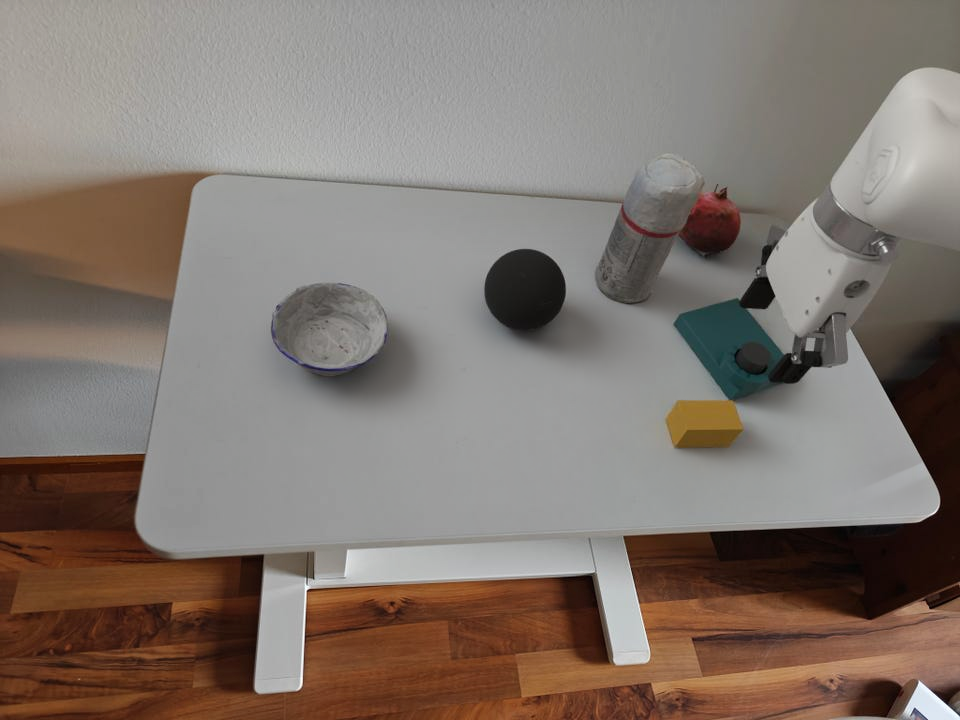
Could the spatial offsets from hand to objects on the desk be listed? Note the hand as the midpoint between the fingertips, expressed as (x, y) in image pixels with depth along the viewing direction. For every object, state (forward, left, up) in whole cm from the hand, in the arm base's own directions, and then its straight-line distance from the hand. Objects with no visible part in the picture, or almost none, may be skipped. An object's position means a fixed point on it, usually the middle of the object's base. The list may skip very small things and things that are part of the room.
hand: (766, 342), depth 75 cm
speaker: (+22, +15, -16) cm, 31 cm away
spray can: (+23, -2, -16) cm, 28 cm away
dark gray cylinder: (+4, -8, -12) cm, 15 cm away
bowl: (+24, +39, -16) cm, 48 cm away
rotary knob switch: (+8, -10, -16) cm, 21 cm away
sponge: (-1, +2, -16) cm, 16 cm away
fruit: (+27, -18, -16) cm, 36 cm away
